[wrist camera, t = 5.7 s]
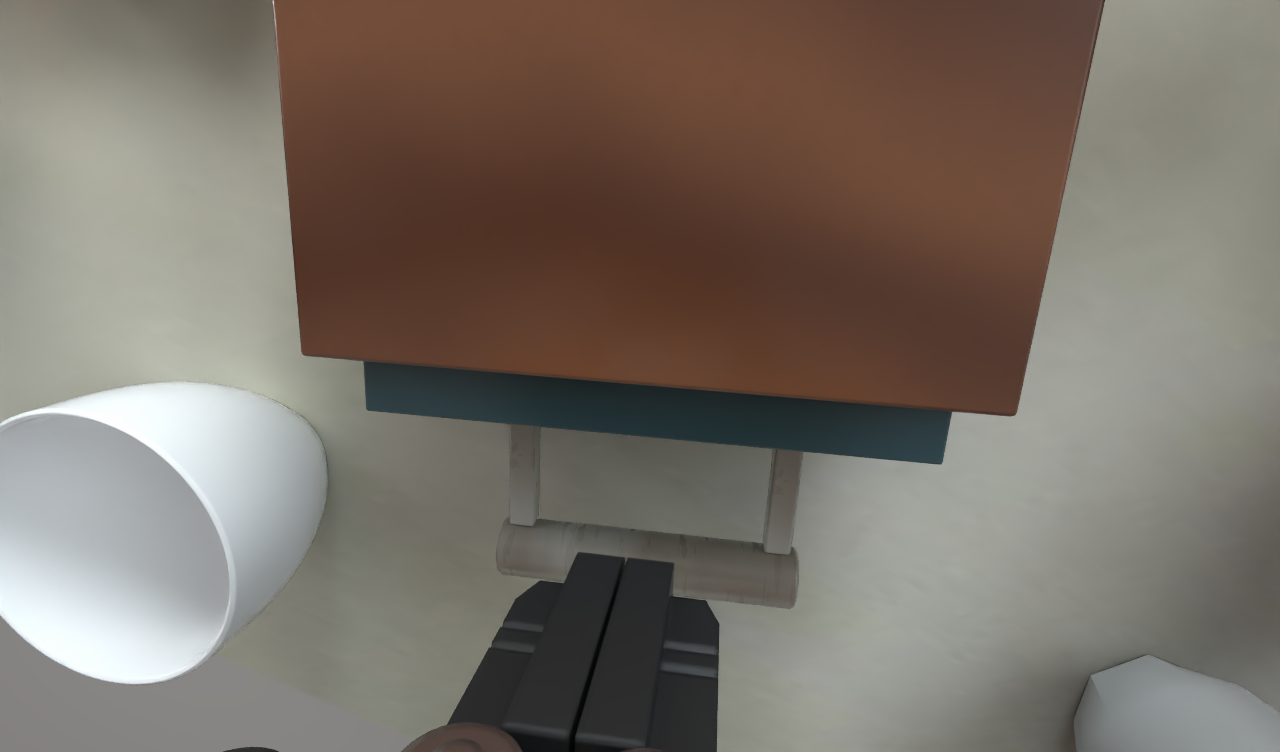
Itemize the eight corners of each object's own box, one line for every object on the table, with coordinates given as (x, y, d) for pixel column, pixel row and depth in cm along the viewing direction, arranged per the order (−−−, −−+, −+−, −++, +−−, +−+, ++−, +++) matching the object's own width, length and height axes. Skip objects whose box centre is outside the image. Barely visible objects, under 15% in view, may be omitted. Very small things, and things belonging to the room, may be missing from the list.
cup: (356, 583, 24) (216, 725, 17) (107, 497, 24) (-121, 603, 18) (395, 391, 21) (252, 470, 15) (121, 300, 22) (-133, 337, 15)
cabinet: (874, 317, 19) (1018, 418, 10) (493, 289, 20) (299, 356, 11) (957, -242, 15) (1304, -916, 6) (491, -233, 17) (203, -781, 7)
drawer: (831, 517, 20) (898, 706, 12) (503, 482, 21) (378, 636, 13) (926, -151, 15) (1123, -501, 8) (502, -148, 16) (314, -452, 9)
